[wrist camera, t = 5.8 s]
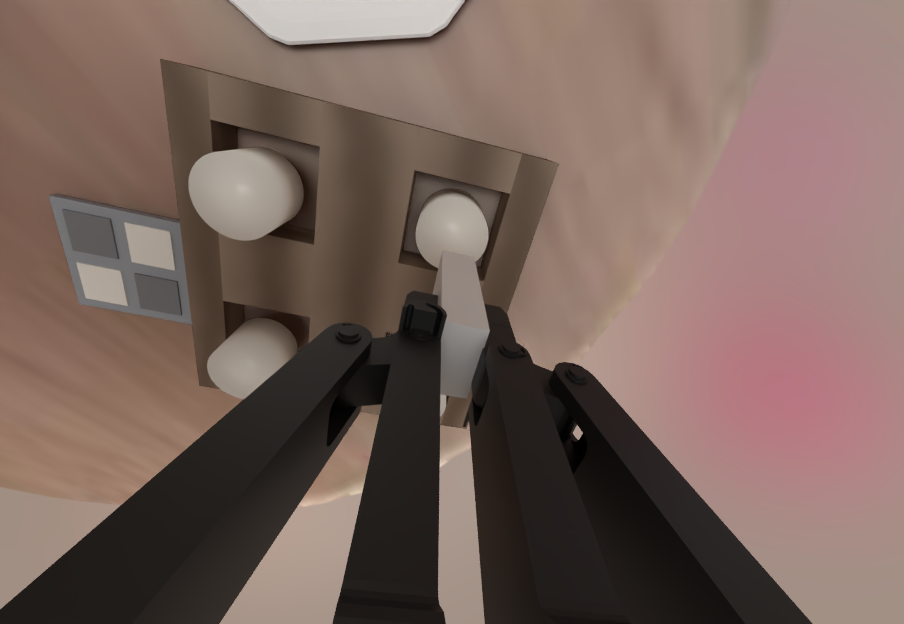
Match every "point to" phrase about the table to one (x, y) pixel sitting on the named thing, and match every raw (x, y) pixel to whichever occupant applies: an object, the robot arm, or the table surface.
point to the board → (336, 213)
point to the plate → (348, 19)
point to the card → (123, 258)
